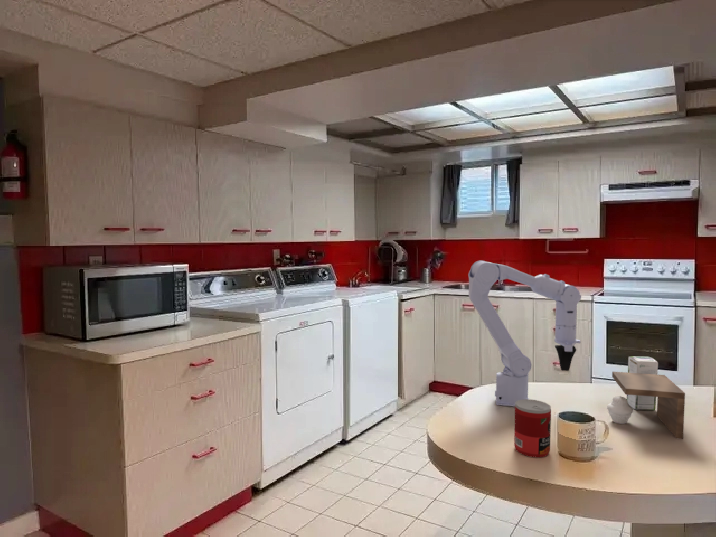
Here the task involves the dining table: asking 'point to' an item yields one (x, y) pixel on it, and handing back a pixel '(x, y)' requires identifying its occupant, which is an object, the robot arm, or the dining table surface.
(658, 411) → the walnut shelf
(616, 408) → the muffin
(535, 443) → the canned food
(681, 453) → the dining table surface
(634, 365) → the syrup box
